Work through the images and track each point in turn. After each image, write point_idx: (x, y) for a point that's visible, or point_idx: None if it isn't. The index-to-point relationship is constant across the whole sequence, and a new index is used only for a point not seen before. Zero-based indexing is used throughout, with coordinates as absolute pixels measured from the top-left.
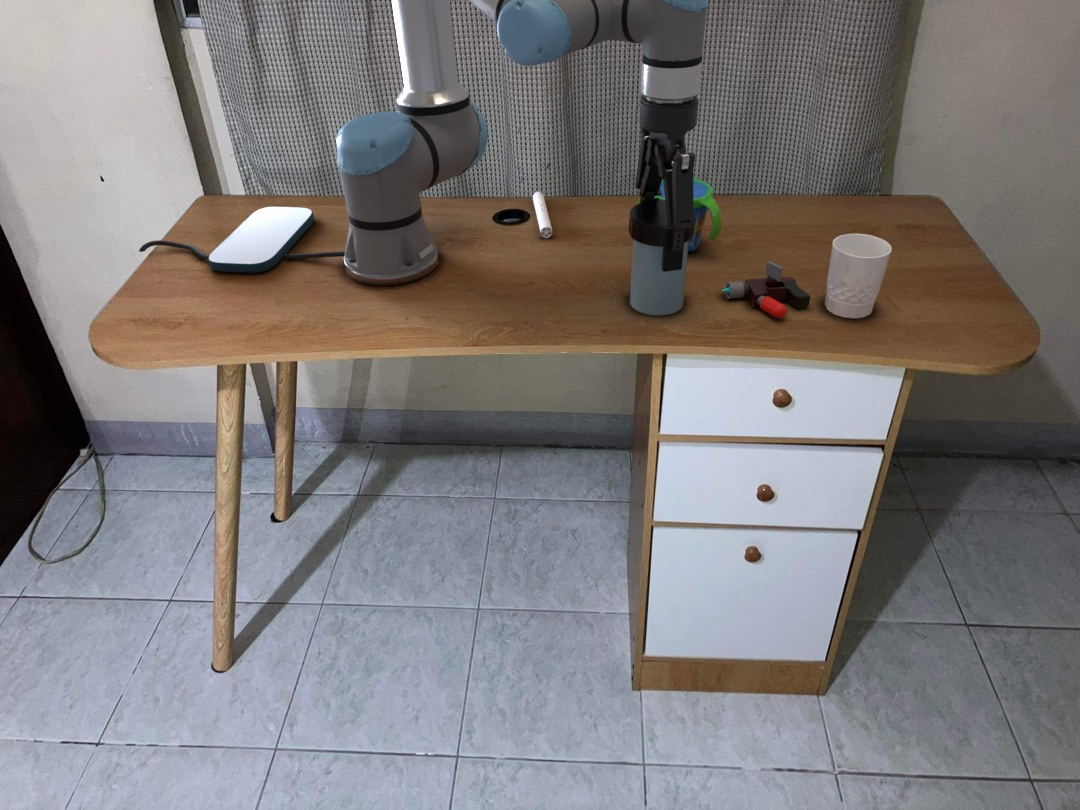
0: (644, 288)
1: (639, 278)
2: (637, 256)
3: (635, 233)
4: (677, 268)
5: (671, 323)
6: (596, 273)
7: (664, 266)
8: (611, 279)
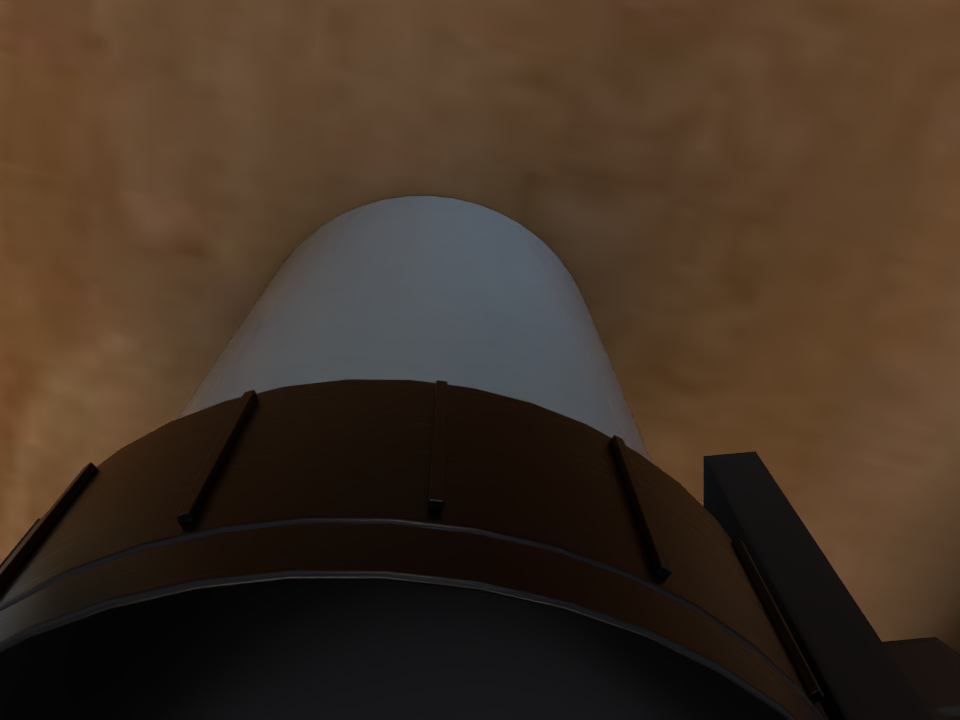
0: (252, 310)
1: (279, 299)
2: (270, 357)
3: (163, 464)
4: None
5: (154, 386)
6: (950, 48)
7: (10, 555)
8: (818, 143)
